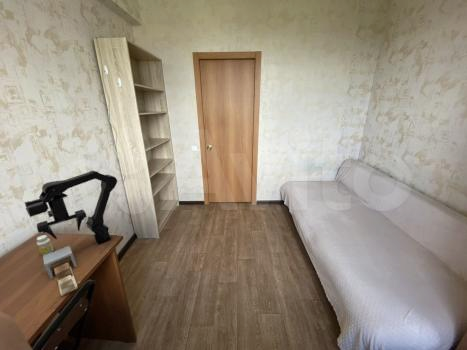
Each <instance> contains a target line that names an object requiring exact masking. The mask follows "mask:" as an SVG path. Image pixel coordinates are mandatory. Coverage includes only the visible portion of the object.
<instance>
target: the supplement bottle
mask: <svg viewBox="0 0 467 350" xmlns="http://www.w3.org/2000/svg"><path fill="white" fill-rule="evenodd" d="M36 245H37V248H38V250H39V252H40V255H41V256H44V255H47V254H49V253H52V252H54V250H55V249H54V246H53V243H52V241H51V239H50V238H48V235H47V234H45V235H44V234H43V235H39V236H37V238H36Z"/></svg>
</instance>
